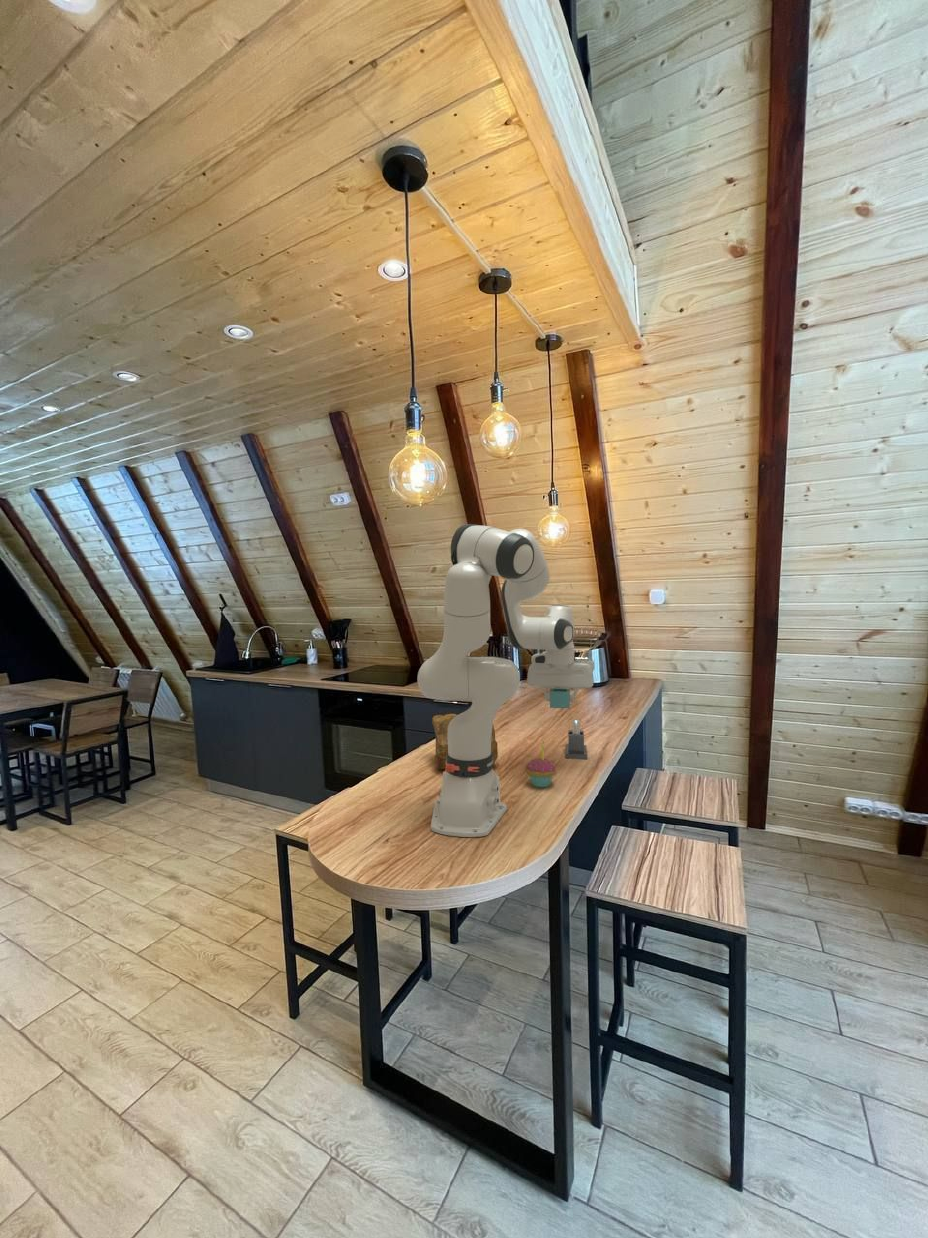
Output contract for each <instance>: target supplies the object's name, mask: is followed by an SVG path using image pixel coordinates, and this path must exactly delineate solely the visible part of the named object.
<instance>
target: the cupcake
mask: <svg viewBox="0 0 928 1238" xmlns="http://www.w3.org/2000/svg"><path fill="white" fill-rule="evenodd" d="M544 743H545V742H544V741H543V740H542V743H541V757H540V758H534V759H533V760H531V761H529V762H528V763H527V764H526V766H525V768H526V769H525V773H526V775H528V776H529V777H530V780H531V784H532V785H533V786H534V787H536V788H547V787H549V786H550V783H551V779H552V778H553V776H555V775H556V774H557V769H556V765H555V764H554V763H553V762H552V761H550V760H548V759H546V758H545V744H544Z"/></svg>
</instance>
